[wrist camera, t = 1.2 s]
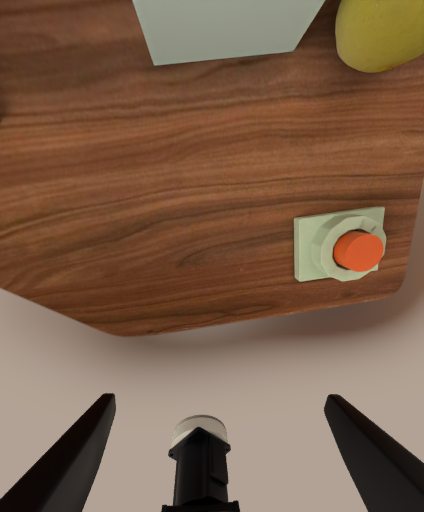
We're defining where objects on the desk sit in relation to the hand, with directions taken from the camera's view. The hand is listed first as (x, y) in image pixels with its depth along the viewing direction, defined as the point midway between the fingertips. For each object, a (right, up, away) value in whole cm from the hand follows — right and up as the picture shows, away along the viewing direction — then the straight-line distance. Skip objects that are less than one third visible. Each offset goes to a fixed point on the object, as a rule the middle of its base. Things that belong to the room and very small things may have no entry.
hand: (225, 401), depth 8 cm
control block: (+13, +7, +14) cm, 20 cm away
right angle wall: (0, +29, +7) cm, 30 cm away
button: (+13, +7, +11) cm, 19 cm away
